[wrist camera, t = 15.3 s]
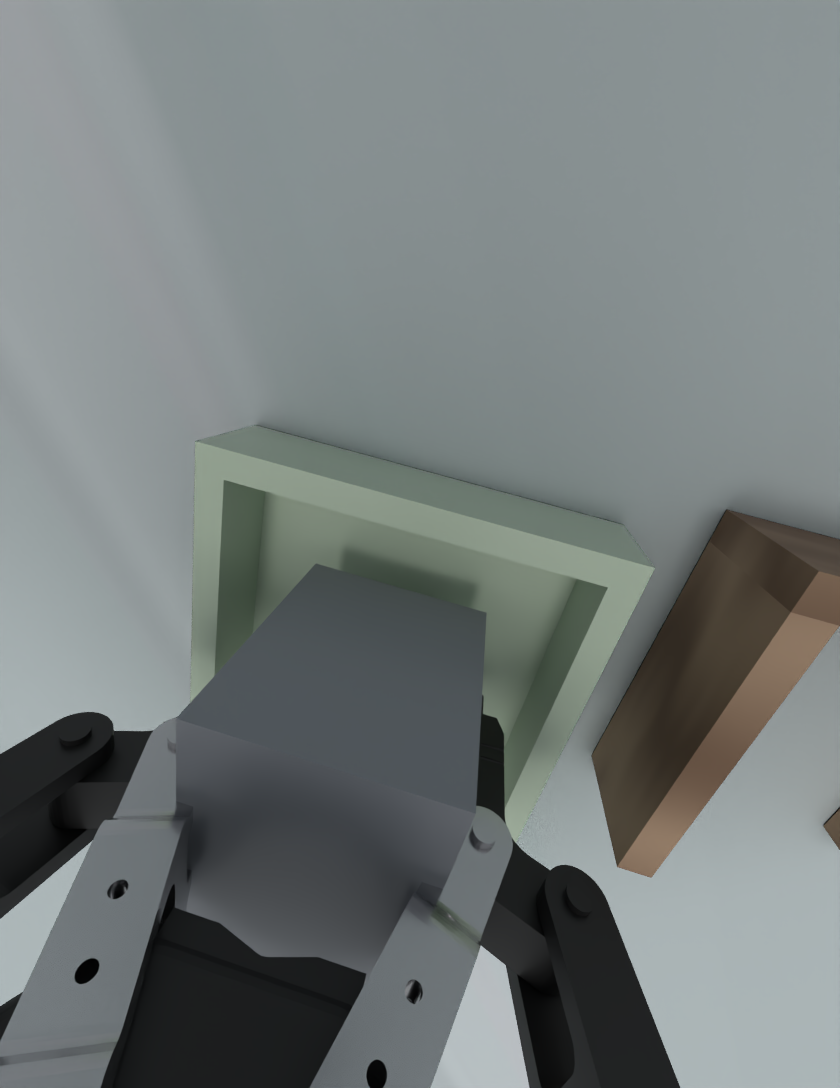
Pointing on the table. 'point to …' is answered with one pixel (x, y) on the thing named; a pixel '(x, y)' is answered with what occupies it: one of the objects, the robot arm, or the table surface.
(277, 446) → the tray
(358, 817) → the grey block with stick
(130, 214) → the table surface
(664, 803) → the u-shaped wooden frame
